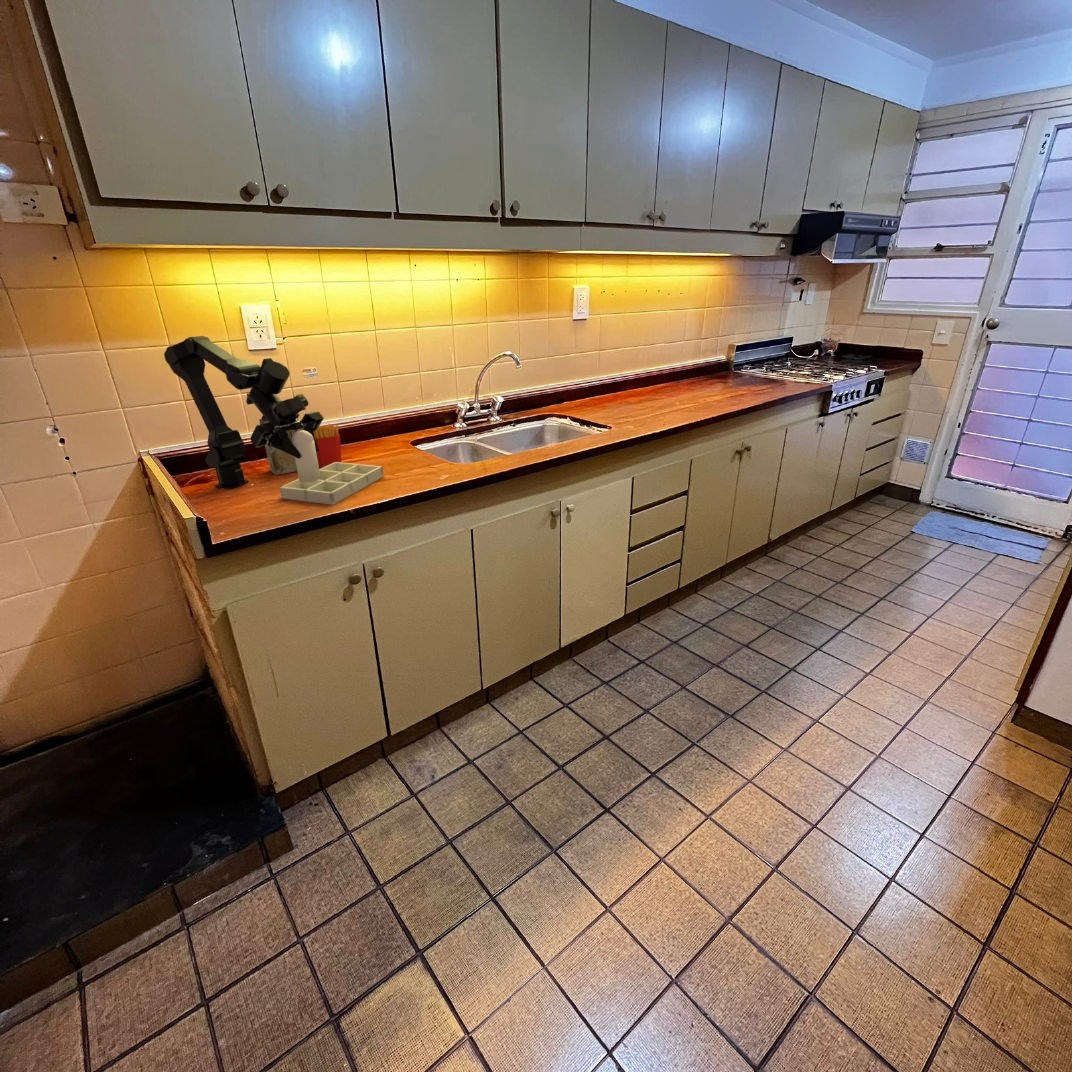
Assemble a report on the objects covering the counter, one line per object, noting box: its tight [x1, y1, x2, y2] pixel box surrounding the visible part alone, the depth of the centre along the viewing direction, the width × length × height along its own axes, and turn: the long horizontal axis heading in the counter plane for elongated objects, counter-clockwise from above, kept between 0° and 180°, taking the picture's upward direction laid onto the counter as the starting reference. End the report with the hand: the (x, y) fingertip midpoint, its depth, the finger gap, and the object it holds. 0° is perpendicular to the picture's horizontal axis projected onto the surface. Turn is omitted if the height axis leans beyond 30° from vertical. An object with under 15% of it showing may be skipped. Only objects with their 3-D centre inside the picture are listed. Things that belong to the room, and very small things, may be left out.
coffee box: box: [258, 418, 297, 476], centre depth 171 cm, size 9×6×16 cm
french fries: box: [314, 424, 343, 469], centre depth 175 cm, size 9×4×13 cm, turn 121°
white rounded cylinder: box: [292, 430, 320, 482], centre depth 142 cm, size 5×5×13 cm
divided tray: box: [278, 461, 384, 506], centre depth 159 cm, size 16×24×3 cm
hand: (309, 454), depth 141 cm, fingers closed on white rounded cylinder, 5 cm apart
